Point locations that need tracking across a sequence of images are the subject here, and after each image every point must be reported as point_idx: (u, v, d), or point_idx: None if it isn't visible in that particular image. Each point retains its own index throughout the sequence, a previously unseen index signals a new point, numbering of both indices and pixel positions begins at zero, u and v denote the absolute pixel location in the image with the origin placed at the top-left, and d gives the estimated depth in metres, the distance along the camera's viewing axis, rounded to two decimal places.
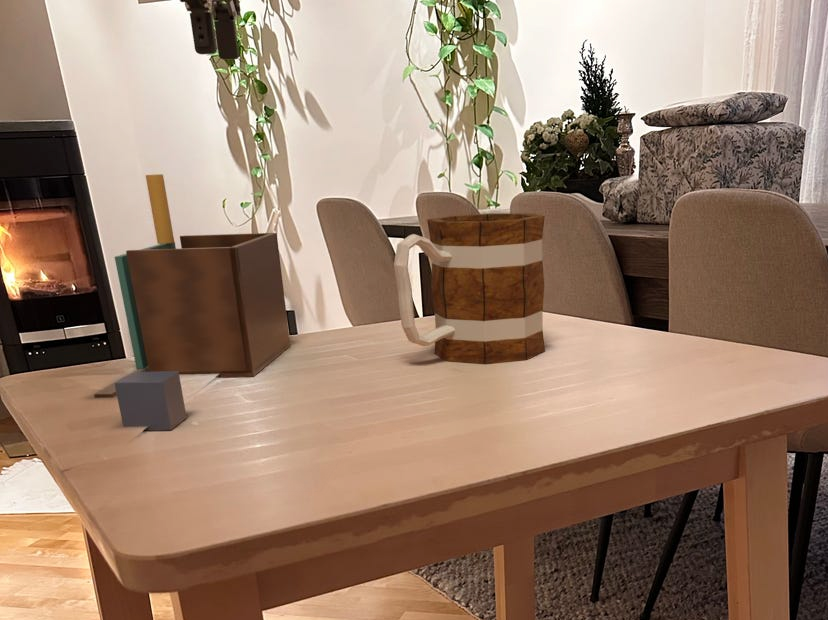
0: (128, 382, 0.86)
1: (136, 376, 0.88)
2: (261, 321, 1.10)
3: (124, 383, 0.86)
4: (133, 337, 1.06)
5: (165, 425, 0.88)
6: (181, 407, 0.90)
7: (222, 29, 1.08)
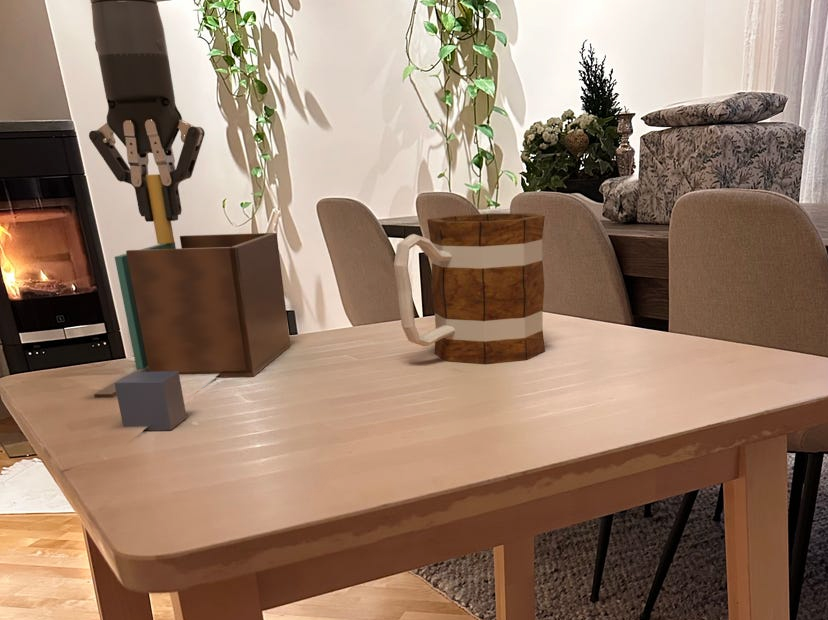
0: (128, 382, 0.86)
1: (136, 376, 0.88)
2: (261, 321, 1.10)
3: (124, 383, 0.86)
4: (133, 337, 1.06)
5: (165, 425, 0.88)
6: (181, 407, 0.90)
7: None
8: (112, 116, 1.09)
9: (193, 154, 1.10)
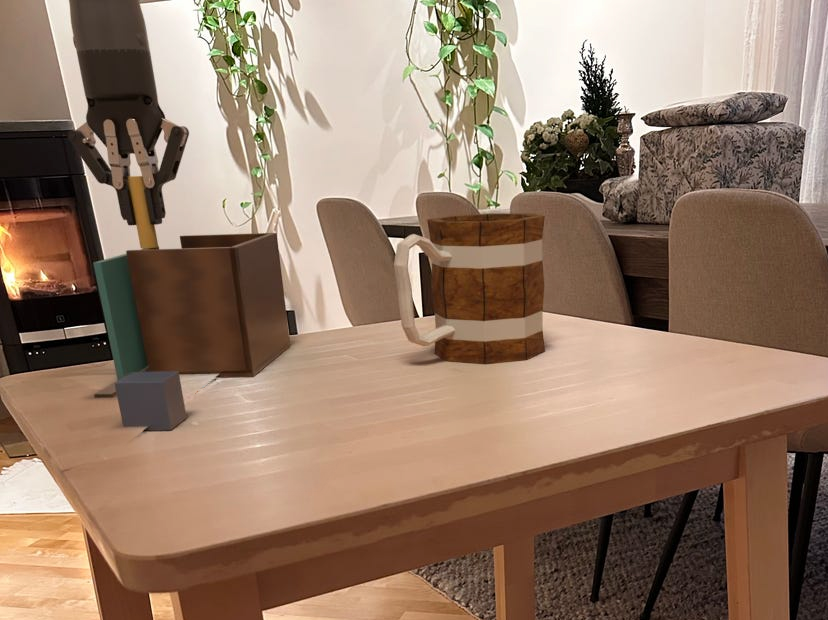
0: (128, 382, 0.86)
1: (136, 376, 0.88)
2: (261, 321, 1.10)
3: (124, 383, 0.86)
4: (113, 347, 1.02)
5: (165, 425, 0.88)
6: (181, 407, 0.90)
7: None
8: (92, 115, 1.04)
9: (177, 155, 1.06)
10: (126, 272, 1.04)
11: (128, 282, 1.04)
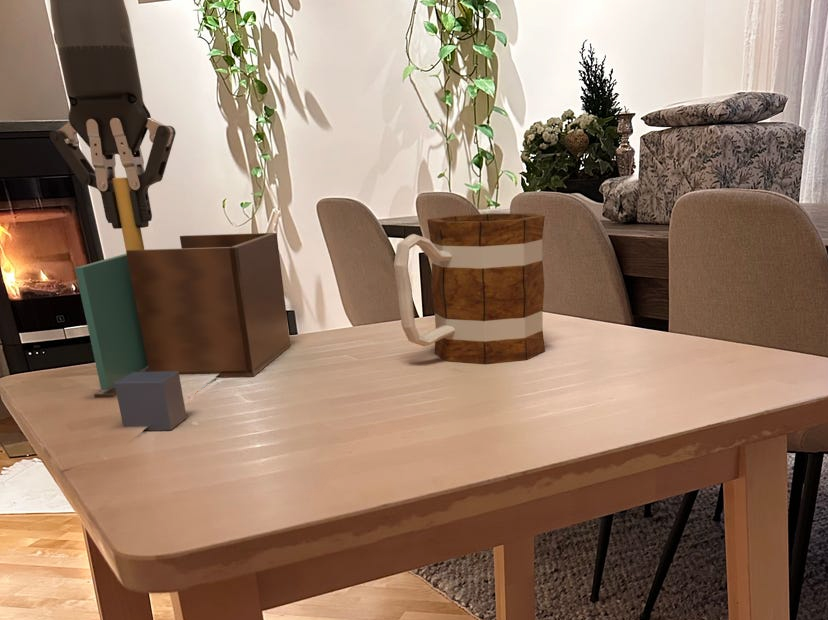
0: (128, 382, 0.86)
1: (136, 376, 0.88)
2: (261, 321, 1.10)
3: (124, 383, 0.86)
4: (97, 355, 0.98)
5: (165, 425, 0.88)
6: (181, 407, 0.90)
7: None
8: (74, 114, 1.00)
9: (163, 155, 1.02)
10: (110, 277, 1.00)
11: (112, 288, 1.00)
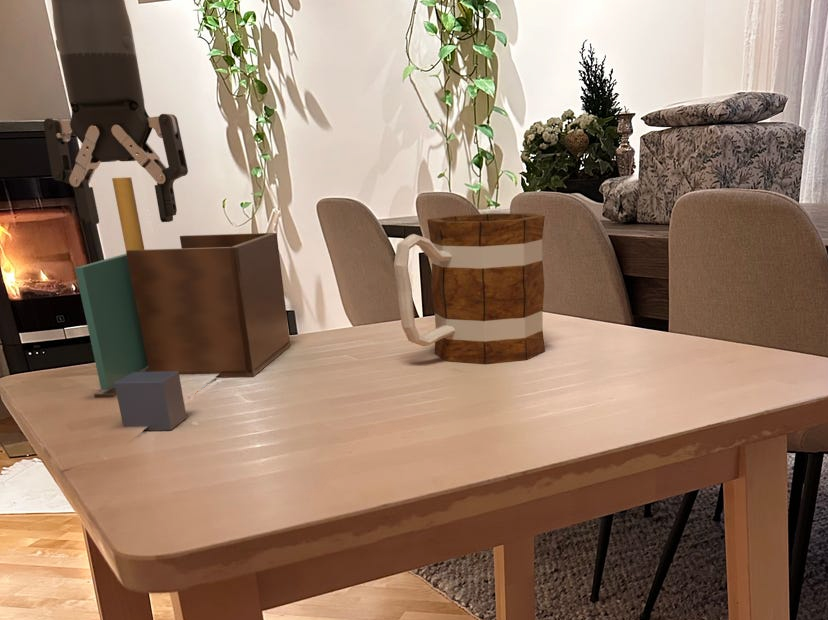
0: (128, 382, 0.86)
1: (136, 376, 0.88)
2: (261, 321, 1.10)
3: (124, 383, 0.86)
4: (97, 355, 0.98)
5: (165, 425, 0.88)
6: (181, 407, 0.90)
7: None
8: (78, 120, 1.00)
9: (176, 143, 1.01)
10: (110, 277, 1.00)
11: (112, 288, 1.00)
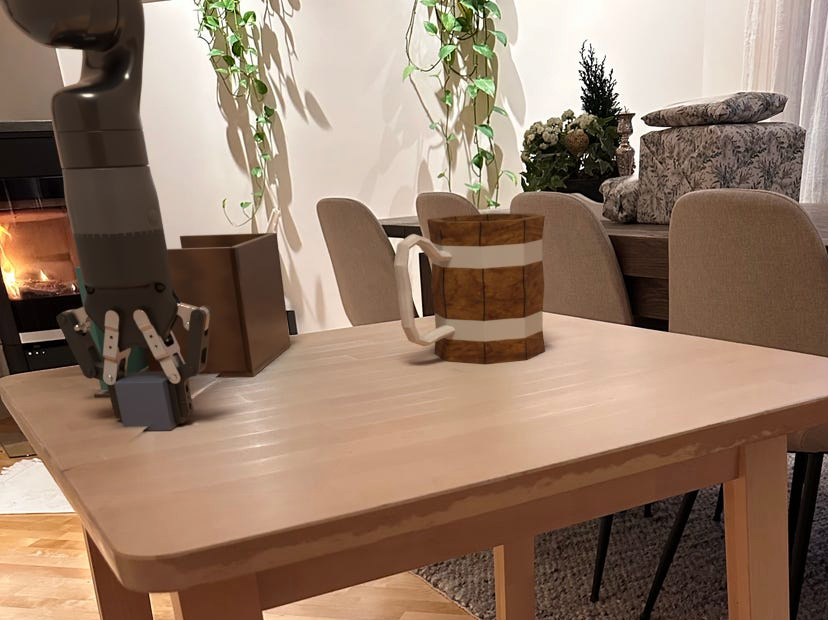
0: (128, 382, 0.86)
1: (136, 376, 0.88)
2: (261, 321, 1.10)
3: (124, 383, 0.86)
4: None
5: (165, 425, 0.88)
6: None
7: None
8: (92, 303, 0.84)
9: (203, 342, 0.85)
10: None
11: None
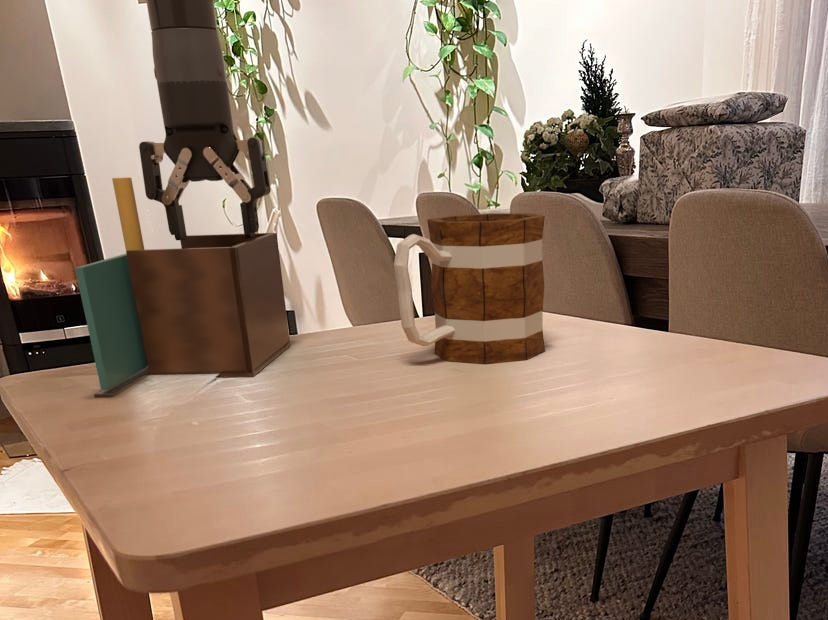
0: None
1: None
2: (261, 321, 1.10)
3: None
4: (97, 355, 0.98)
5: None
6: None
7: None
8: (171, 143, 1.07)
9: (262, 165, 1.08)
10: (110, 277, 1.00)
11: (112, 288, 1.00)
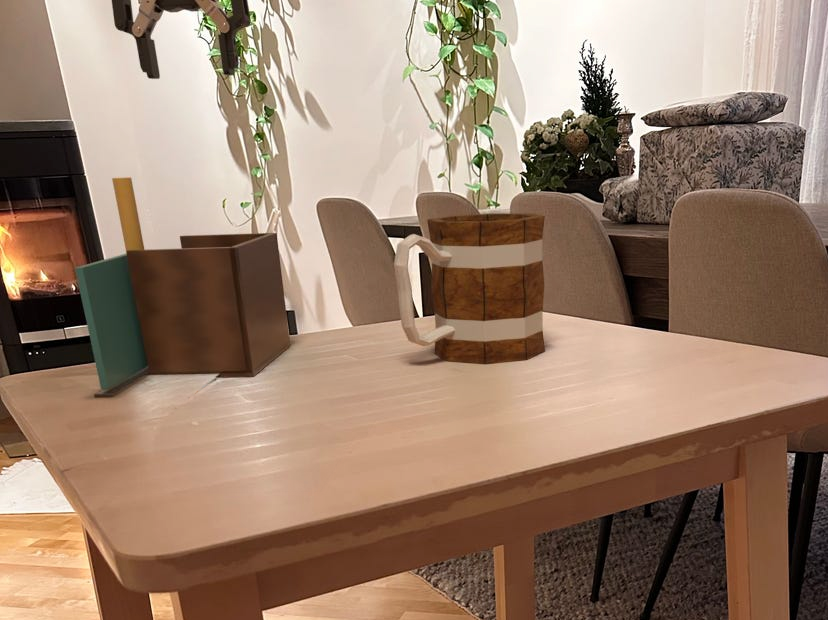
0: None
1: None
2: (261, 321, 1.10)
3: None
4: (97, 355, 0.98)
5: None
6: None
7: None
8: None
9: None
10: (110, 277, 1.00)
11: (112, 288, 1.00)
